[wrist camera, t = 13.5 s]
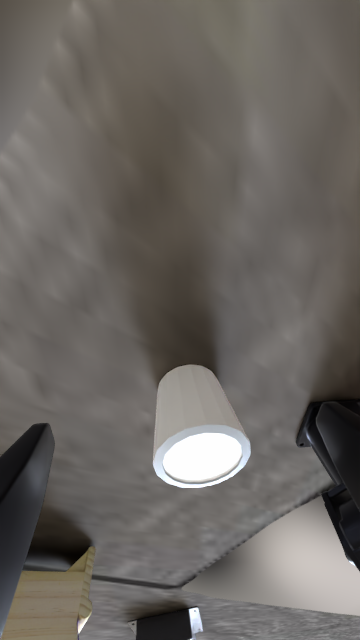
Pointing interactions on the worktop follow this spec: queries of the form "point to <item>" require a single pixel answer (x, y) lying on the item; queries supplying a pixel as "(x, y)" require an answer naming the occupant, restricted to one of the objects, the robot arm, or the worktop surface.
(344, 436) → the robot arm
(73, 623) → the toy sofa
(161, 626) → the black wifi router
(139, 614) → the worktop surface
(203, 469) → the shot glass
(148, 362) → the worktop surface
